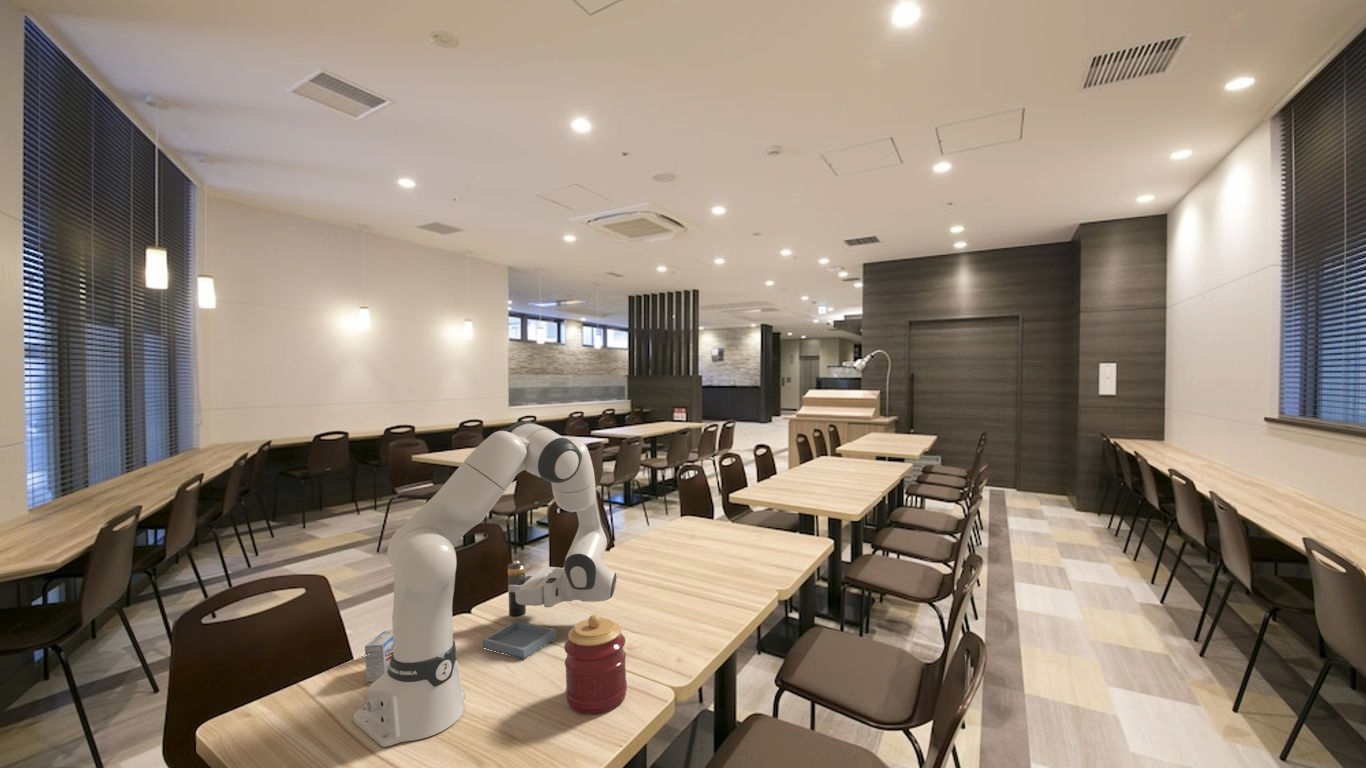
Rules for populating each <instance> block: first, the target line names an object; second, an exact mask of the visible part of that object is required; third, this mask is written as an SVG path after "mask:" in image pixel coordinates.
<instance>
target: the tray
mask: <svg viewBox="0 0 1366 768" xmlns="http://www.w3.org/2000/svg"><path fill="white" fill-rule="evenodd" d="M555 638H556V639H557V629H556V628H552V627H548V626H547V627H546V626H542V625H537V624H534V623H530V622H529V623H528V622H524V621H520V620H515V621H513V622H512V623H509V624H508V625H506V626H504V627H502V628H500V629H499V630H497V631H495V632H494V633H492V634H490V635H488V636H486V637H485V638H483V639H482V649H483V648H486V649H489V650H492V651H496V652H499V653H504V654H507V655H510V656H509V657H511V656H513V657H512V658H514V657H517V658H516V659H518V658H520V659H519V660H522V659H523V661H525V660H527V659H528V658H529V657H528V656H530V655H531V654H532V653H534V652H535V651H537V650H538V649H540V648H541V647H543V646H544V645H546V644H548V643H549V644H551V643H552V642H553V641H552V640H554V639H555ZM556 639H555V640H556ZM555 640H554V641H555ZM551 641H552V642H551ZM550 642H551V643H550ZM549 644H548V645H549ZM546 646H547V645H546ZM543 648H544V647H543ZM540 650H541V649H540ZM492 651H491V652H492ZM537 652H538V651H537ZM499 653H498V654H499ZM534 654H535V653H534ZM507 655H506V656H507ZM531 656H532V655H531ZM531 656H530V657H531ZM527 657H528V658H527ZM526 658H527V659H526ZM524 659H525V660H524Z"/></svg>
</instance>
